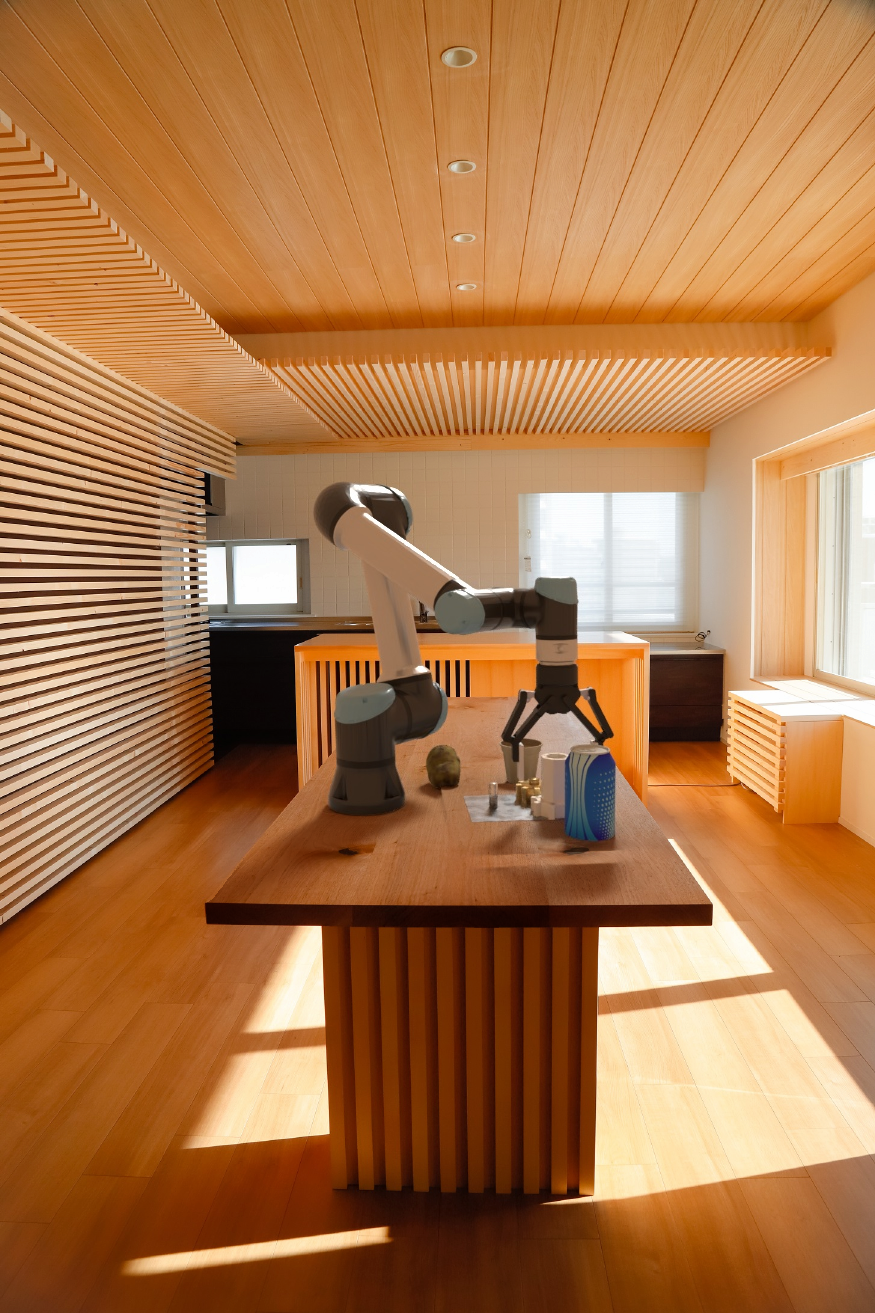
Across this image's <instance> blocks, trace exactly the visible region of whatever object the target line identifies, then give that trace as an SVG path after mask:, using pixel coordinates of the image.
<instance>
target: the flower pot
mask: <svg viewBox="0 0 875 1313" xmlns="http://www.w3.org/2000/svg"><path fill="white" fill-rule="evenodd" d="M521 743H522V744H523V746H524V781H528V779H529V778H537V771H538V764H539V756H540V753H541V751H542V747H543V746H544V742H543V741H542V740H539V739H536V738H530V737H524V738H523V740H522V741H521ZM498 744H499V746H500V748H501V752H502V755H503V761H504V769H505V776H506V778H505V779H506V782H508V783H509V784H511V785H512V784H518V781H519V779H518V777H517V762H513V760H512V758H511V743H508V742H504V741H503V739H501V740H500V741H499V742H498Z"/></svg>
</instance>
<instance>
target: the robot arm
mask: <svg viewBox="0 0 875 1313" xmlns="http://www.w3.org/2000/svg"><path fill="white" fill-rule="evenodd" d="M312 513H313V514H312V515H313V521H314V523H315V526H316V528H317V530H318V532H319V533H320V534H321V535H322V537H324V538H325V539H326V540H327V541H328V542H329V543H331V544H332V545H334V546H335V547H336V548H337V549H339V550H341V551H344V552H348V551H350V552H351V553H352V554H353V555H354V556H355V557H357V558H358V559H360V560H361V565H362V571H363V576H364V581H365V587H366V592H367V597H368V602H369V608H370V609H369V610H370V614H371V618H372V619H371V620H372V624H373V625H372V626H373V630H374V636H375V640H376V647H377V651H378V657H379V662H380V667H381V674H380V675H379V677H378V678H377V680H376V682H368V683H367V682H366V683H364V684H362V683H361V684H356V685H352V686H351V685H350V686H349V687H346V688H344V689H342V690H341V691H339V692H338V693H337V694H336V697H335V701H334V711H333V717H334V727H335V728H334V730H335V731H334V734H335V737H334V738H335V755H336V756H335V758H336V761H335V762H336V767H335V771H334V774H333V779H332V781H331V786H330V788H329V792H328V797H327V798H328V808H329V809H330V810H332V811H334V812H336V813H339V814H343V815H348V816H349V815H350V816H351V815H352V816H373V815H375V816H377V815H382V814H387V813H391V812H394V811H397V810H399V809H402V808H403V807H404V806H405V804H406V792H405V788H404V785H403V782H402V779H401V776H400V774H399V770H398V768H397V764H396V762H397V760H396V746H397V745H400V744H401V745H402V744H405V743H409V742H411V741H414V740H422V739H426V738H427V737H428V736H430V735H433V734H435V733H436V732H438V731H439V730H440V729H441V728H442V726H444V723H445V722H446V721H447V717H448V713H449V700H448V696H447V694H446V692H445V690H444V689H443V688H442V687H441V686H440V684H439V683H437V682H436V681H434V680H433V674H432V671H431V670H430V669H429V668H427V667H426V666H425V665H424V663H423V661H422V657H421V650H420V644H419V639H418V634H417V629H416V623H415V617H414V612H413V608H412V602H411V597H413V598H414V599H416V600H417V601H419V602H420V603H421V604H423V606H425V607H427V608H428V609H429V610H431V611H432V612H434V617H435V620H436V623H438V626H439V628H440V629H441V630H442V631H443V632H445V633H447V634H449V635H460V636H468V635H472V634H477V633H483V632H484V633H485V632H488V631H499V630H507V629H529V630H530V629H531V630H533V629H534V631H535V632H534V633H535V660H536V661H537V662H538V663H536V665H535V689H534V690H533V691H532V690H525V689H524V688H520V689H518V694H517V700H516V704H515V706H514V708H513V710H512V712H511V713H510V716H509V718H508V720H507V722H506V724H505V726H504V729H503V730H502V733H501V735H500V738H501V740H503V741H504V742H508V743H511V758H512V760H513V762H517V777H518V779H519V781H524V746H523V744H522V743H521V741H522V740H523V738H526V735H528V734H529V732H530V731H531V730H532V729H533V727H534V726H535V725H536V724H537V722H538V721H539V720H540V719H541V718H542V717H543V716H544V715H545V714H548V715H556V714H561V715H567V714H569V712H571V713H572V714H573V715H574V716H575V717H576V719H577V720H578V721H579V722H580V723H581V724H582V726H583V727H584V728H586V731H588V732H589V734H591V736H592V737H593V738H594V739H590V740H589V744H591V745H601V746H604V743H605V742H606V740H608V739H613V738H614V736H615V734H614V731H613V730H612V727H611V726H610V724H609V721H608V720H607V718H606V716H605V714H604V712H603V710H602V708H601V706H600V704H599V702H598V699H597V691H596V689H595V688H593V687H592V686H587V687H586V688H583V689H582V688H581V689H580V688H579V665H578V664H577V663H576V661H577V660H578V659H579V653H578V652H579V651H578V648H579V647H578V644H579V643H578V636H579V635H578V606H579V605H578V604H579V603H580V602H579V601H580V600H579V599H578V597H579V596H578V583H577V580H576V579H575V577H573V576H563V575H561V576H539V577H538V576H537V578H536V579H535V582H534V586H533V587H504V586H497V587H490V588H482V589H476V588H474V587H473V586H471V585H469V584H468V583H467V582H465V581H463V580H462V579H461V578H460V577H458V576H457V575H455V574H454V573H452V572H451V571H449V570H448V569H447V568H445V567H444V566H442V565H441V564H439V563H438V562H437V561H435V560H434V559H432V558H431V557H429V556H428V555H427V554H425V553H423V552H422V551H421V550H419V548H416V547H415V546H414V545H412V544H411V543H410V542H409V541H407V536H408V535H409V533H410V531H411V526H412V525H413V522H414V517H413V515H414V514H413V509H412V506H411V503H410V501H409V500H408V498H407V497H406V496H405V494H404V493H402V491H400V490H398V489H397V488H394V487H392V486H388V485H385V484H377V483H375V484H369V483H359V482H351V481H340V482H334V483H332V484H329V485H327V486H326V487H325V488H323V489H322V490H321V491H320V493H319V494H318V495H317V497H316V499H315V501H314V505H313V511H312ZM410 595H411V596H410ZM581 697H583V699H584V700H585V701H587V704H588V705H589V707H590V709H591V711H592V713H593V715H594V717H595V719H596V721H597V722H598V725H599V726H600V729H601V732H600V731H599V730H598V729H597V728H596V726H595V725H594V724H593V723H592V722H591V721H590V720H589V719H588V717H587V716H586V714H584V713H583V711H582V710H581V709H580V708H579V707H578V705H577V704H576V703H577V702H578V701H579V699H580V698H581ZM533 698H534V700H535V701H536V703H537V704H536V706H535V707H534V709H532V711H531V713H530V714H529V715H528V716H527V718H526V719H525V720H524V721H523V723H522V724H521V725H520V726H519V728H518V729H517V730H516V731H515V729H516V727H517V724H518V723H519V721H520V720H521V717H522V715H523V712H524V710H525V708H526V706H527V704H528V703H530V702H531V700H532V699H533ZM514 731H515V733H514Z"/></svg>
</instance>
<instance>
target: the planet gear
mask: <svg viewBox="0 0 875 1313" xmlns="http://www.w3.org/2000/svg"><path fill="white" fill-rule="evenodd" d="M568 755H569V754H568V753H562V752H547V753H543V754H541V755H540V780H541V793H540V795H539V796H532V797H531V811H533V815H534V816H536V817H538V816H544V817H548V819H549V820H551V821H555V820H556V819H555V818H565V760H566V758H567V757H568ZM549 820H548V821H549Z"/></svg>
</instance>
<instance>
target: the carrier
mask: <svg viewBox="0 0 875 1313" xmlns="http://www.w3.org/2000/svg"><path fill="white" fill-rule="evenodd" d="M498 784H499V783H498V782H489V783H488V794H486V795H463V797H462V798H463V799H464V802H465V805H466V809H467V811H468V814H469V817H470V820H471V822H472V823H487V822H488V823H489V822H493V823H494V822H514V821H515V822H517V821H518V822H519V821H522V822H523V821H545V820H546V821H547V820H548V821H549V819H548V817H544V816H538V817H536V816H534V815H533V811H531V797H532V796H539V795H540V793H541V779H540V778H538V777H536V778H529V779H528V781H518V783H515V793H514V794H498V793H499V791H498V790H499V789H498V787H499V785H498ZM555 820H565V818H555Z"/></svg>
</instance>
